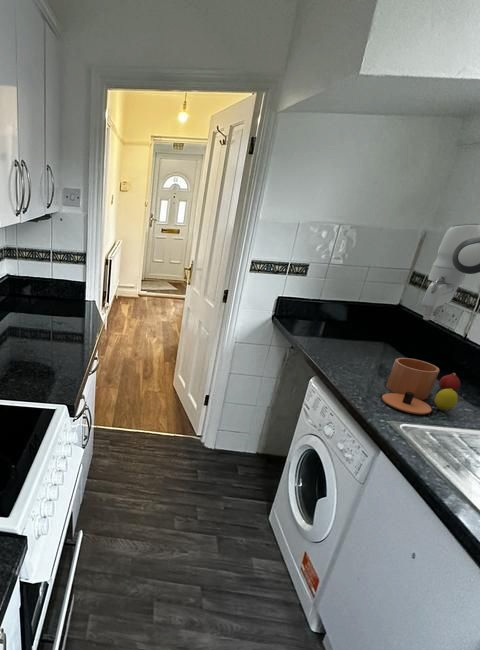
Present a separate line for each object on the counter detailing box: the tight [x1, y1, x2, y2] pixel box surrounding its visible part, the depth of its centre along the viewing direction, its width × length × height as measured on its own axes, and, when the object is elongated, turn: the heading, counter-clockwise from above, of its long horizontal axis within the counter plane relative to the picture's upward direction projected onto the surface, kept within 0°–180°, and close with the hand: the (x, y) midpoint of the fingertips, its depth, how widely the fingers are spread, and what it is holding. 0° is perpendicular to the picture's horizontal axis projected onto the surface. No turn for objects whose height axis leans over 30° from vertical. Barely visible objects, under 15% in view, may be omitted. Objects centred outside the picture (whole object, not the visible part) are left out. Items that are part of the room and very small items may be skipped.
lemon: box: [433, 388, 459, 411], centre depth 135 cm, size 6×6×8 cm
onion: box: [438, 372, 461, 392], centre depth 147 cm, size 6×6×8 cm
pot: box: [385, 357, 441, 401], centre depth 146 cm, size 13×13×10 cm
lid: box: [381, 392, 433, 415], centre depth 137 cm, size 14×14×5 cm
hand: (430, 317), depth 139 cm, fingers open, 8 cm apart
